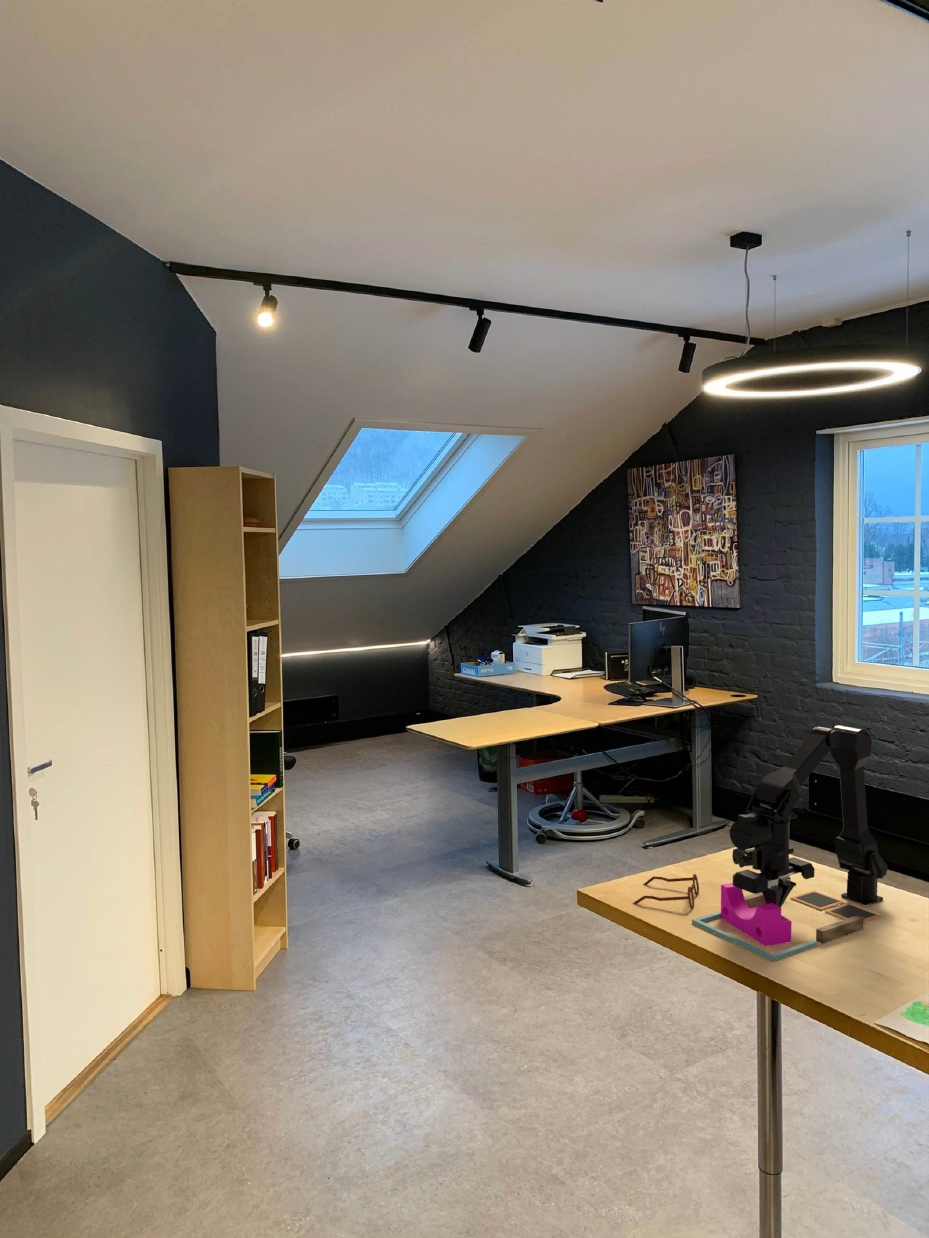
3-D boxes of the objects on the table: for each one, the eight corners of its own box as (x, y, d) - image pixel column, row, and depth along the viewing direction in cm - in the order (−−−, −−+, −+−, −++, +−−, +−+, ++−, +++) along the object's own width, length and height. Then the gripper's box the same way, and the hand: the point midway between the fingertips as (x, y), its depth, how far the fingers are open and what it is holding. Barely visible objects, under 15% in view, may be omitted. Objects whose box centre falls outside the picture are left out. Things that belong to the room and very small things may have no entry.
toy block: (791, 942, 180) (791, 906, 179) (764, 947, 178) (765, 910, 177) (745, 914, 194) (746, 880, 193) (720, 918, 192) (721, 884, 192)
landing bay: (735, 910, 196) (735, 906, 196) (817, 945, 178) (817, 941, 178) (692, 923, 189) (692, 919, 189) (772, 961, 171) (772, 957, 171)
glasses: (692, 914, 195) (692, 891, 195) (632, 905, 200) (632, 883, 200) (699, 892, 208) (700, 871, 207) (643, 885, 212) (643, 864, 212)
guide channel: (780, 896, 203) (780, 886, 203) (863, 929, 185) (863, 917, 185) (740, 908, 197) (740, 897, 196) (822, 943, 179) (822, 931, 178)
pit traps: (813, 891, 206) (813, 889, 206) (881, 916, 192) (881, 914, 192) (790, 898, 202) (790, 897, 202) (857, 924, 188) (857, 923, 188)
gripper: (773, 824, 197) (772, 894, 198) (712, 838, 187) (711, 911, 188) (816, 837, 188) (815, 910, 189) (755, 853, 178) (754, 930, 179)
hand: (773, 915), depth 186 cm, fingers closed
